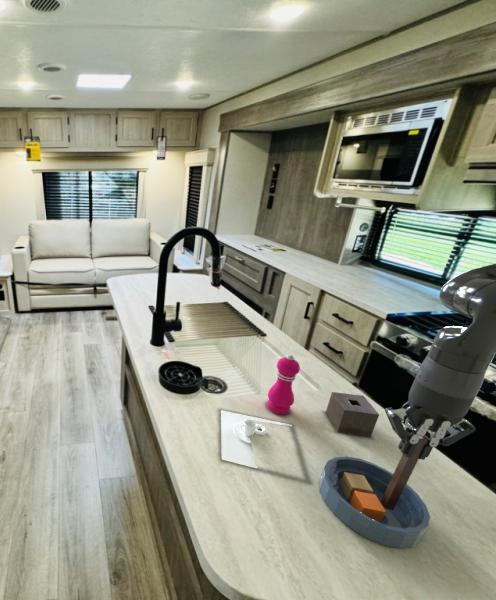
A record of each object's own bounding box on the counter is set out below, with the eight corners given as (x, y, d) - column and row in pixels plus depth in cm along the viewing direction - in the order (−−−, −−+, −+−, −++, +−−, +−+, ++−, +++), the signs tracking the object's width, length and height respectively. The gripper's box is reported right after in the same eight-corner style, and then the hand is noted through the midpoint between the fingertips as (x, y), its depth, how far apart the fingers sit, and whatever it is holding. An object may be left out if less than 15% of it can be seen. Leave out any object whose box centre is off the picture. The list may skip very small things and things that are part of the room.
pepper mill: (268, 414, 98) (281, 359, 91) (263, 399, 105) (274, 347, 97) (294, 417, 96) (309, 362, 89) (286, 402, 103) (300, 349, 96)
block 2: (369, 506, 69) (375, 494, 68) (380, 524, 66) (386, 512, 64) (349, 502, 70) (354, 490, 69) (358, 520, 67) (363, 507, 65)
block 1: (358, 487, 74) (363, 475, 72) (368, 503, 70) (373, 491, 69) (339, 483, 75) (344, 471, 73) (347, 499, 71) (352, 487, 70)
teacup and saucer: (264, 428, 92) (267, 417, 91) (268, 449, 86) (271, 437, 84) (232, 421, 95) (234, 411, 94) (234, 441, 88) (236, 429, 87)
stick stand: (355, 416, 96) (363, 395, 93) (370, 436, 89) (379, 414, 86) (325, 412, 98) (331, 391, 95) (337, 431, 91) (344, 410, 88)
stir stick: (389, 503, 68) (422, 433, 61) (393, 510, 67) (428, 439, 60) (380, 501, 69) (412, 432, 62) (384, 508, 67) (418, 438, 60)
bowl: (388, 481, 76) (395, 464, 74) (442, 561, 60) (454, 542, 58) (307, 466, 80) (312, 450, 78) (338, 538, 64) (345, 520, 62)
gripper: (413, 390, 54) (381, 463, 61) (514, 403, 51) (469, 478, 57) (387, 367, 61) (361, 435, 67) (475, 376, 58) (439, 446, 64)
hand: (411, 454), depth 62 cm, fingers closed on stir stick, 1 cm apart
